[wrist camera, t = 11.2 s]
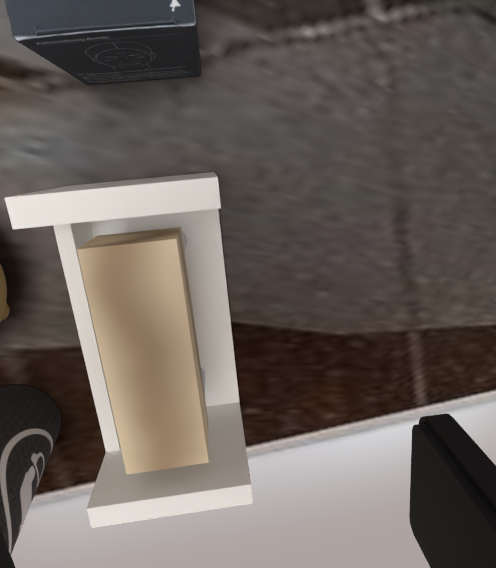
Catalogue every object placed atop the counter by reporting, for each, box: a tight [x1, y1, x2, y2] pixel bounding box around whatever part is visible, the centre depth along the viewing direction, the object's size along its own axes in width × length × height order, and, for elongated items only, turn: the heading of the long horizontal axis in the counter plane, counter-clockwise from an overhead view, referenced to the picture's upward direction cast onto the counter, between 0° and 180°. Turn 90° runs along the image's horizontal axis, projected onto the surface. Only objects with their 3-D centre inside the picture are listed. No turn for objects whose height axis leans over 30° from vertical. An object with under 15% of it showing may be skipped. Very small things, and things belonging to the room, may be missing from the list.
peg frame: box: [5, 172, 253, 528], centre depth 27 cm, size 10×20×10 cm, turn 5°
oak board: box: [77, 227, 209, 474], centre depth 25 cm, size 5×14×4 cm, turn 5°
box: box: [5, 0, 201, 84], centre depth 21 cm, size 8×6×11 cm
